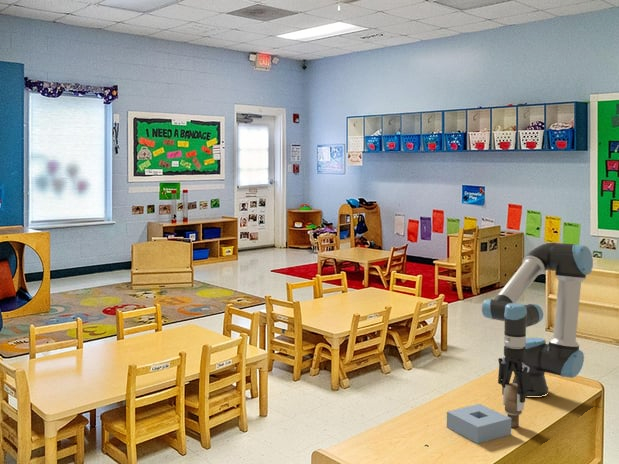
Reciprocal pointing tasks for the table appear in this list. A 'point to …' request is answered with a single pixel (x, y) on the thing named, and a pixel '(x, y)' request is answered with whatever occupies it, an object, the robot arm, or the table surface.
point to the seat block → (479, 423)
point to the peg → (512, 403)
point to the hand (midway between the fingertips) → (513, 407)
